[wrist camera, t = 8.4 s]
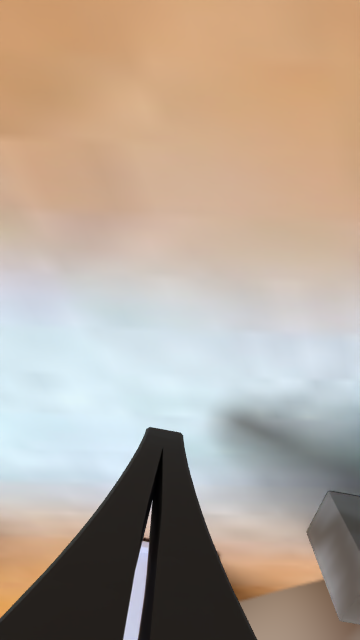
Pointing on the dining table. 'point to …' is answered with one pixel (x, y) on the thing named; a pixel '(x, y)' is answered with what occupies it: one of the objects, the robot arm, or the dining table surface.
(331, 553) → the cradle
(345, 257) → the dining table surface
